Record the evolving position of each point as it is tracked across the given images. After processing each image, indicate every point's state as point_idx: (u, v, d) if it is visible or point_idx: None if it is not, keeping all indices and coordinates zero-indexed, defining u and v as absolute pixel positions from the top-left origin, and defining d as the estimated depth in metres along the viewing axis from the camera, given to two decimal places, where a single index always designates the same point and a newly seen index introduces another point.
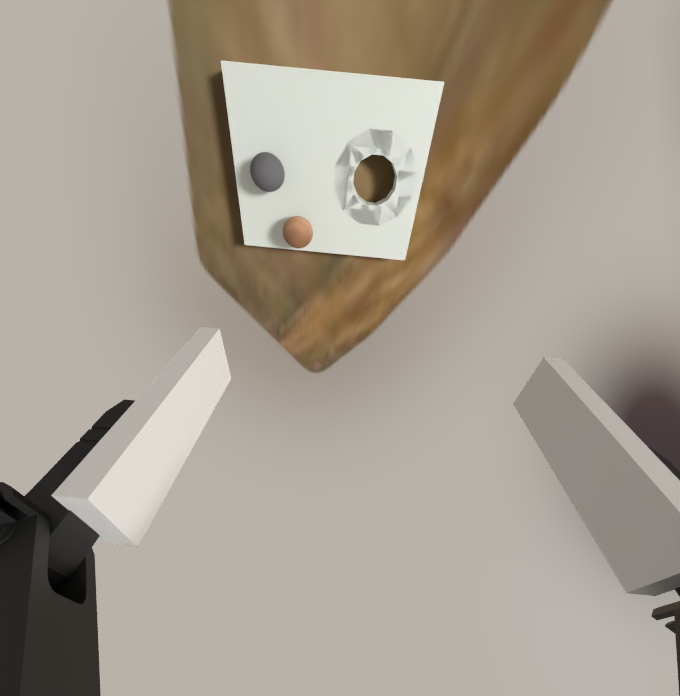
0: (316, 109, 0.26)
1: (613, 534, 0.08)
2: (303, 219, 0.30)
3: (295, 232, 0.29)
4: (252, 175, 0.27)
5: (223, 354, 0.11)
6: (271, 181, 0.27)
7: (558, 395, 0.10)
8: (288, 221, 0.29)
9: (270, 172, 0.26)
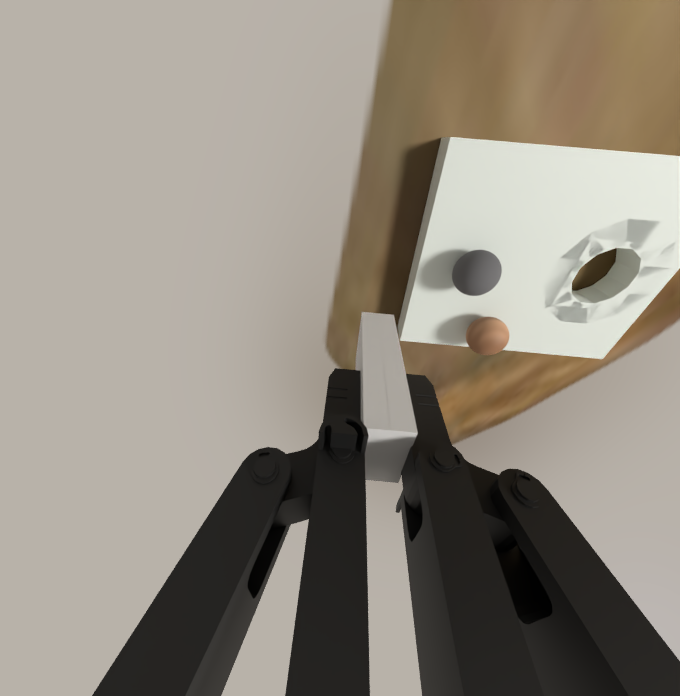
0: (562, 195, 0.19)
1: None
2: (503, 324, 0.23)
3: (496, 343, 0.23)
4: (462, 280, 0.20)
5: None
6: (489, 289, 0.20)
7: None
8: (485, 327, 0.23)
9: (493, 280, 0.19)
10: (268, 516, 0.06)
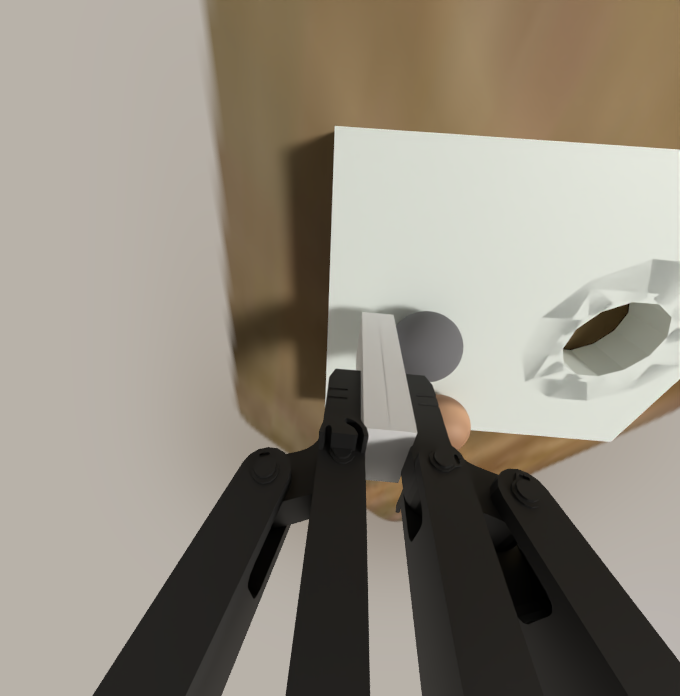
0: (541, 223, 0.11)
1: None
2: (460, 411, 0.15)
3: None
4: (414, 371, 0.12)
5: None
6: (452, 371, 0.13)
7: None
8: None
9: (459, 361, 0.12)
10: (268, 516, 0.06)
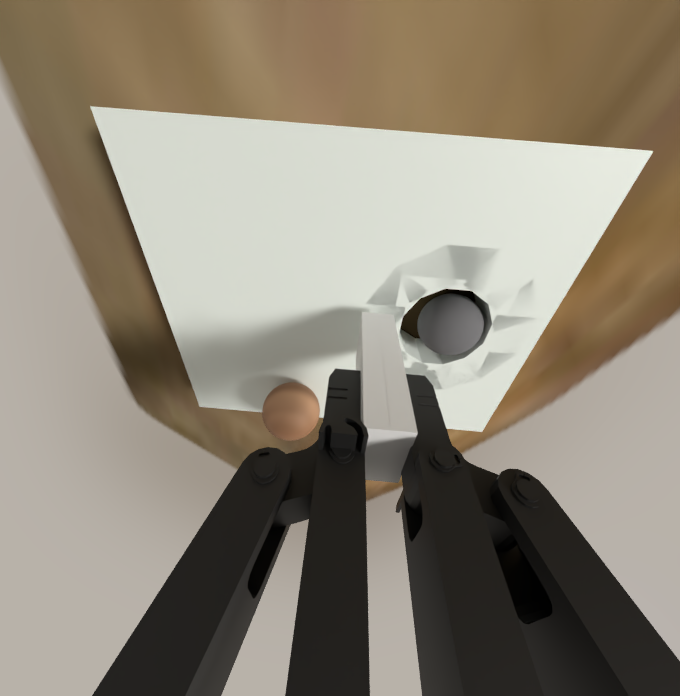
0: (327, 208, 0.11)
1: None
2: (301, 398, 0.15)
3: (286, 429, 0.15)
4: (446, 347, 0.14)
5: None
6: None
7: None
8: (272, 405, 0.15)
9: None
10: (268, 516, 0.06)
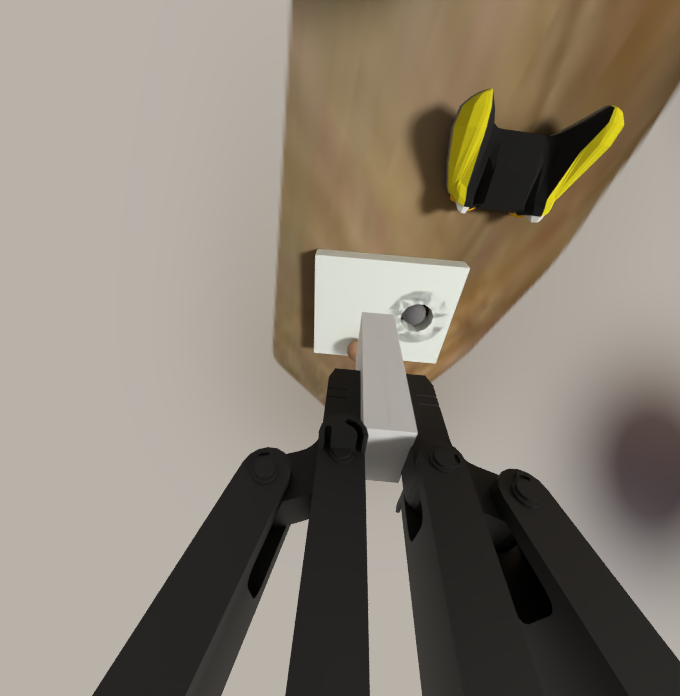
0: (378, 279, 0.37)
1: None
2: None
3: None
4: (406, 316, 0.39)
5: None
6: (420, 320, 0.39)
7: None
8: (353, 346, 0.40)
9: (421, 315, 0.39)
10: (268, 516, 0.06)
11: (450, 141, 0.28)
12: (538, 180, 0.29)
